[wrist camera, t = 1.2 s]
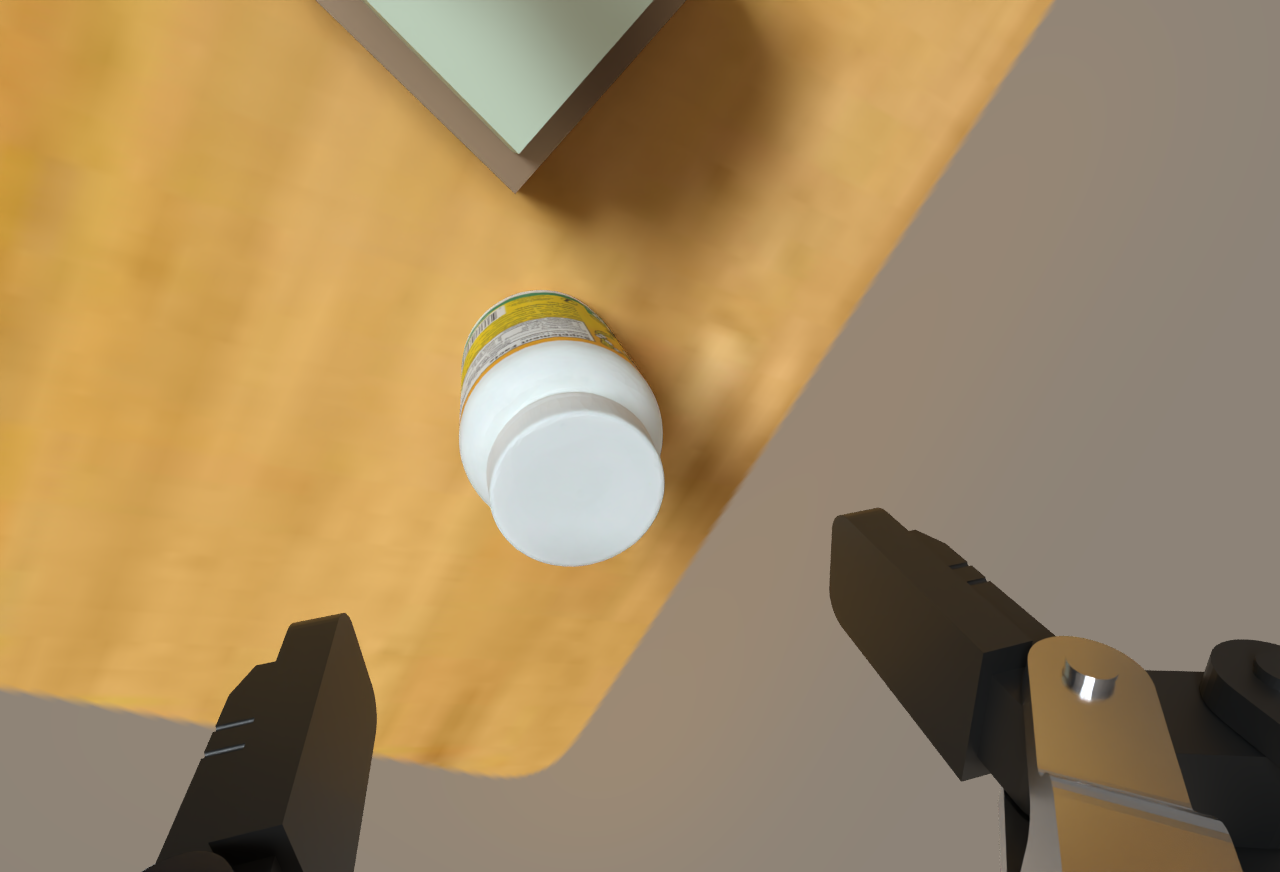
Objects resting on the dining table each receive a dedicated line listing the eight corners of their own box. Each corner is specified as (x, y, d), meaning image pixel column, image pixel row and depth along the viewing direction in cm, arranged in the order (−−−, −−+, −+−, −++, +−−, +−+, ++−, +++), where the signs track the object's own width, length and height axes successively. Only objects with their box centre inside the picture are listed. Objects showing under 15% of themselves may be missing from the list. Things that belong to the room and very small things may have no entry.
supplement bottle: (449, 297, 22) (433, 397, 14) (609, 278, 23) (689, 361, 14) (477, 445, 24) (478, 611, 16) (622, 423, 25) (698, 568, 17)
